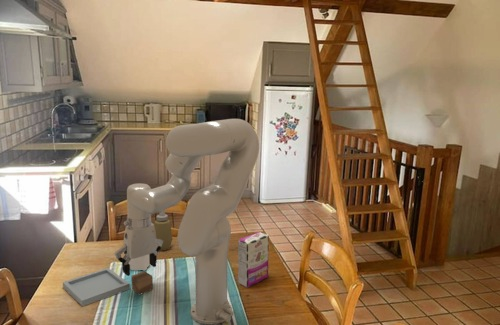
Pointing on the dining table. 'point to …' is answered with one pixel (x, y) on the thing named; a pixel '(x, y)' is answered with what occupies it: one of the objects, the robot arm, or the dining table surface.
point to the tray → (95, 286)
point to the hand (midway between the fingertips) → (140, 269)
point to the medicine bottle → (139, 263)
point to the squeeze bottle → (163, 230)
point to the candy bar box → (253, 259)
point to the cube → (142, 282)
